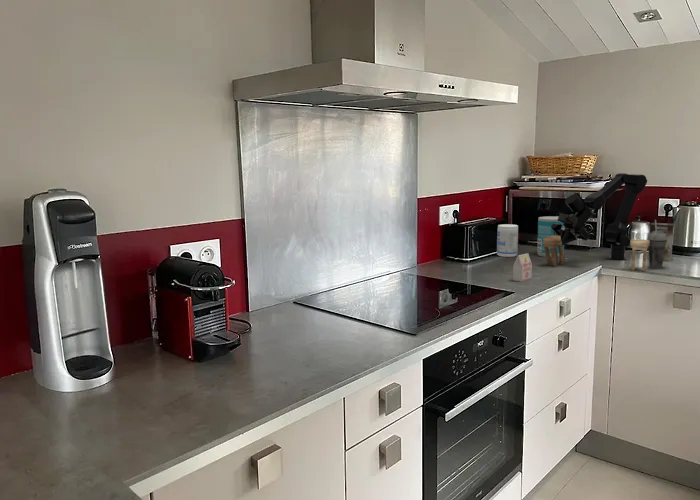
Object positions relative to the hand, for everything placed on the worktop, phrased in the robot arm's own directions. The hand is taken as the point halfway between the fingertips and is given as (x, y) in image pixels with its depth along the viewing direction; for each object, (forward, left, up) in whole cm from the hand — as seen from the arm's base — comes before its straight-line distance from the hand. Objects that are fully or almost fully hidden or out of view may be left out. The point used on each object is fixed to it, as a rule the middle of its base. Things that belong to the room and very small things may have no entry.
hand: (557, 246), depth 242 cm
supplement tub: (-17, -25, -9) cm, 31 cm away
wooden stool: (+1, -1, -8) cm, 8 cm away
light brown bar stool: (0, +31, -8) cm, 33 cm away
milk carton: (+34, -10, -9) cm, 36 cm away
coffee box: (-26, +40, -9) cm, 49 cm away
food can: (-24, -6, -9) cm, 26 cm away
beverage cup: (-6, +38, -9) cm, 39 cm away
